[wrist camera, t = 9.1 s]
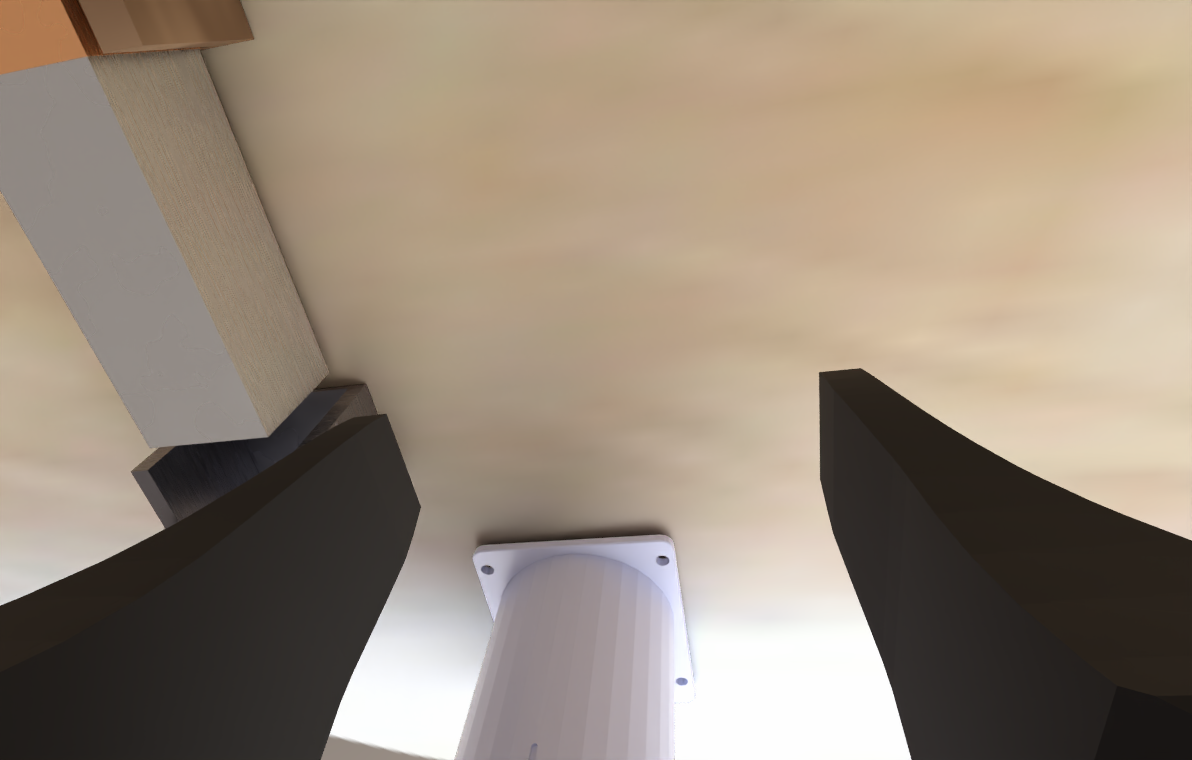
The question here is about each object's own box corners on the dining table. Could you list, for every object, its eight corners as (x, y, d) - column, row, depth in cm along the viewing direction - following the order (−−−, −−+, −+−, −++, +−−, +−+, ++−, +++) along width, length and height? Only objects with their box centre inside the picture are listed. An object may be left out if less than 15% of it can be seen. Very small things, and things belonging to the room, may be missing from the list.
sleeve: (404, 485, 25) (343, 592, 21) (264, 496, 26) (176, 600, 22) (366, 383, 23) (289, 477, 19) (215, 399, 24) (106, 492, 20)
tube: (331, 372, 23) (268, 437, 19) (226, 383, 24) (147, 449, 20) (171, -28, 17) (42, -39, 14) (40, 2, 18) (-116, 0, 14)
